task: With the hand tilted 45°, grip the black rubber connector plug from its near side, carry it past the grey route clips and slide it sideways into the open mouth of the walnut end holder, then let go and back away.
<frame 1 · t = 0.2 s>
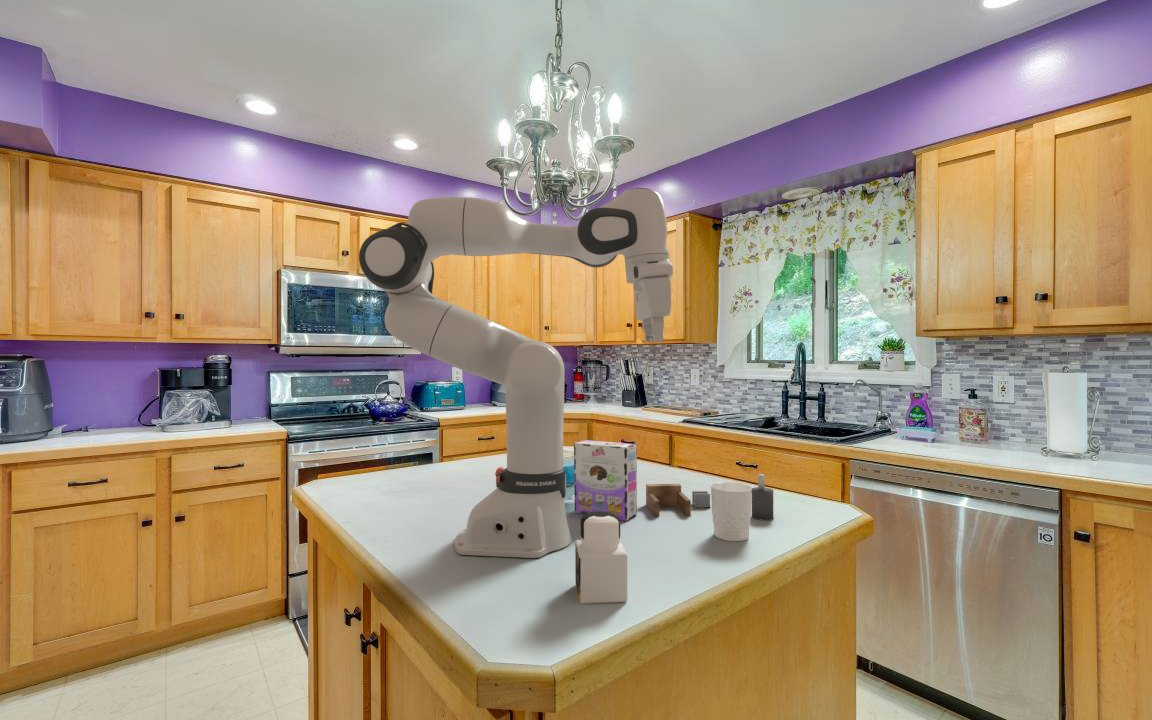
hand: (653, 341, 107), 39 cm above the worktop, tool pointing down, fingers open, 8 cm apart
white cup: (731, 537, 107), on the worktop
clip 1: (728, 507, 128), on the worktop
clip 2: (701, 505, 129), on the worktop
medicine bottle: (600, 594, 81), on the worktop
end holder: (668, 511, 125), on the worktop
plug: (762, 517, 120), on the worktop
candy box: (605, 515, 123), on the worktop
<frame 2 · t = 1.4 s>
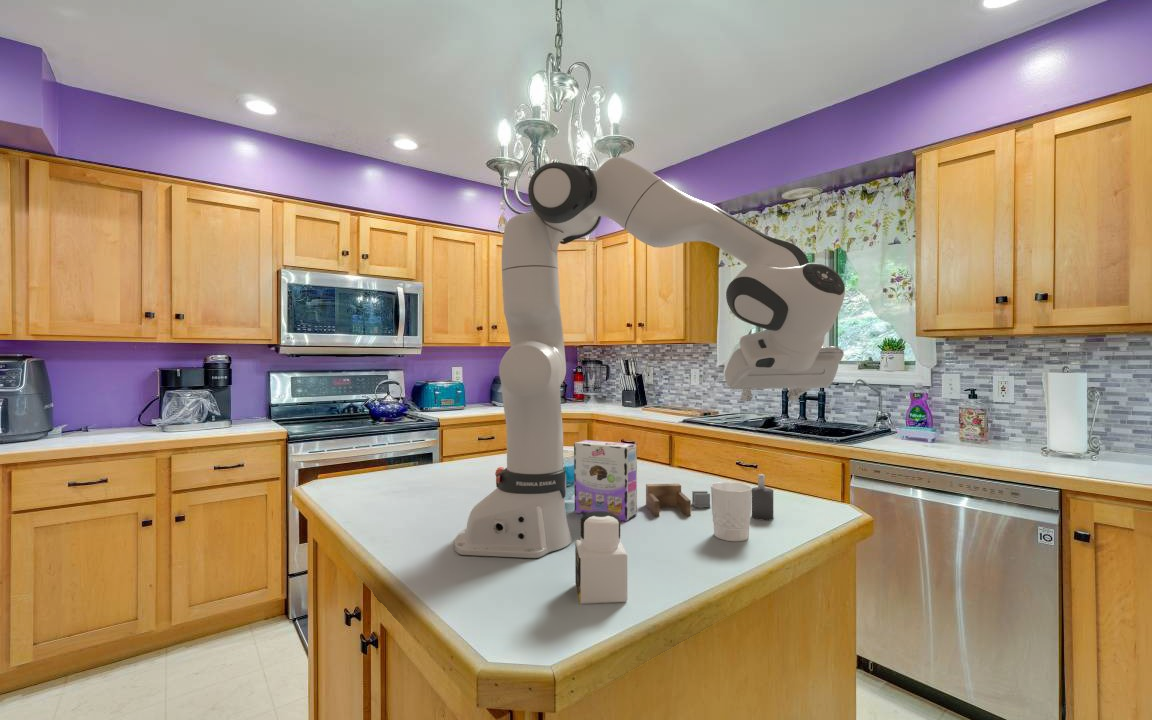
hand: (768, 398, 106), 28 cm above the worktop, tool tilted 45°, fingers open, 8 cm apart
nothing on the worktop moved.
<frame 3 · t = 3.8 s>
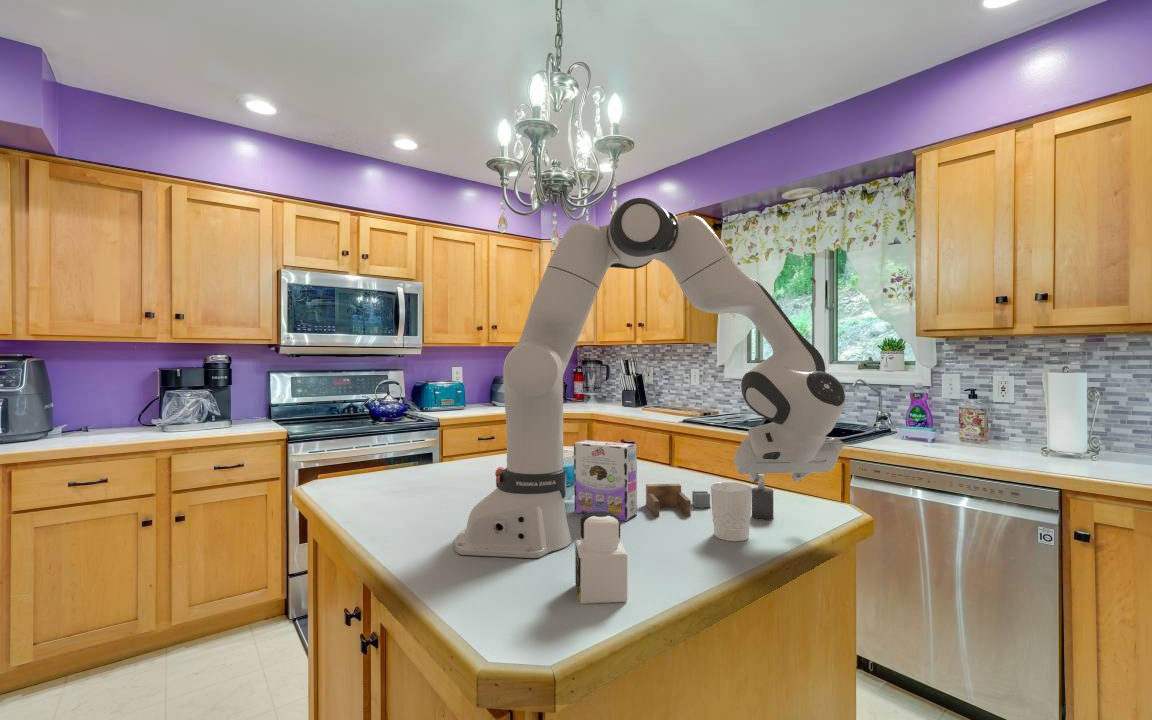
hand: (774, 478, 114), 10 cm above the worktop, tool tilted 45°, fingers open, 8 cm apart
nothing on the worktop moved.
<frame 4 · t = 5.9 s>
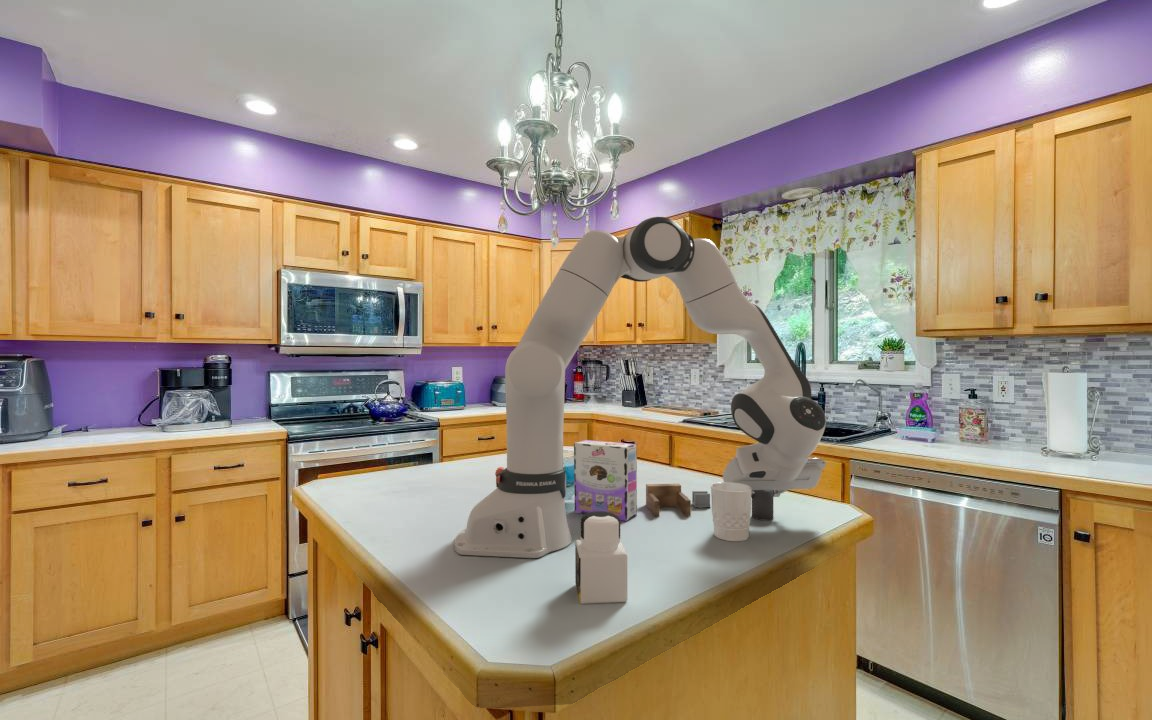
hand: (761, 494, 121), 5 cm above the worktop, tool tilted 45°, fingers closed on plug, 5 cm apart
plug: (762, 517, 120), on the worktop, touching gripper
everything else where it was.
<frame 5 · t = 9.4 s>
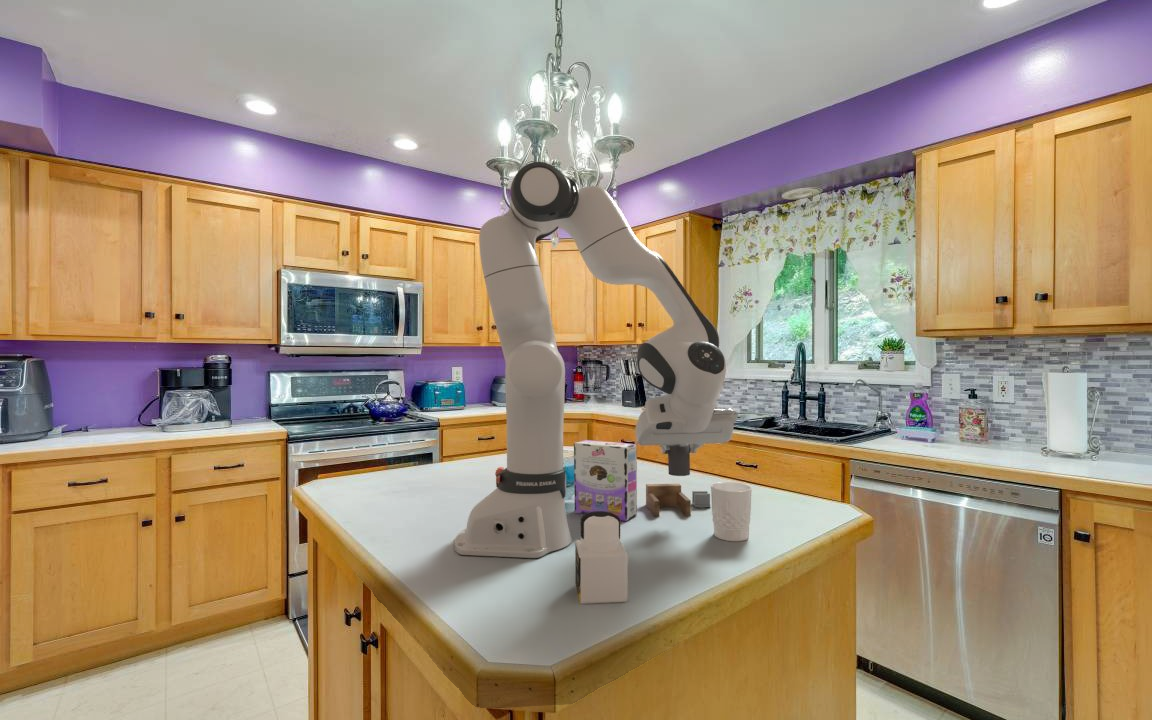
hand: (678, 451, 117), 15 cm above the worktop, tool tilted 45°, fingers closed on plug, 5 cm apart
plug: (679, 473, 117), point 11 cm above the worktop, touching gripper
everything else where it was.
when the fingers open (6 cm above the worktop, at t = 12.7 s): plug drops 1 cm, resting in end holder.
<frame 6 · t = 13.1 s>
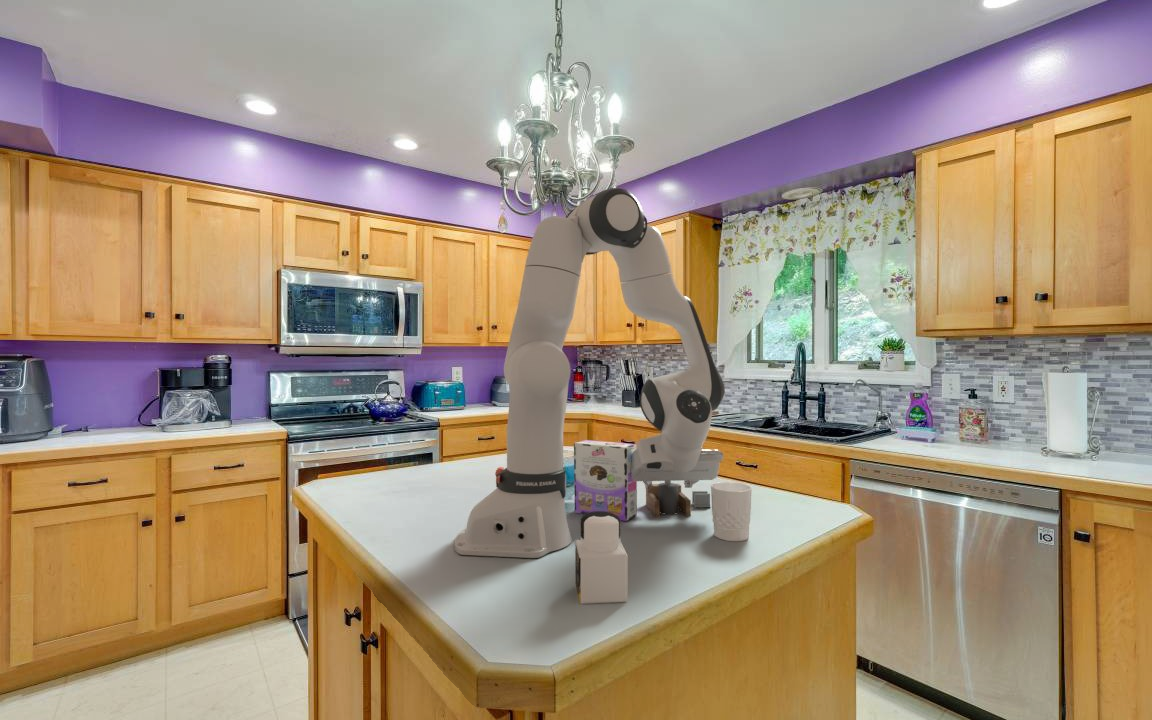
hand: (667, 485, 125), 6 cm above the worktop, tool tilted 45°, fingers open, 8 cm apart
plug: (668, 511, 125), resting in end holder
everything else where it was.
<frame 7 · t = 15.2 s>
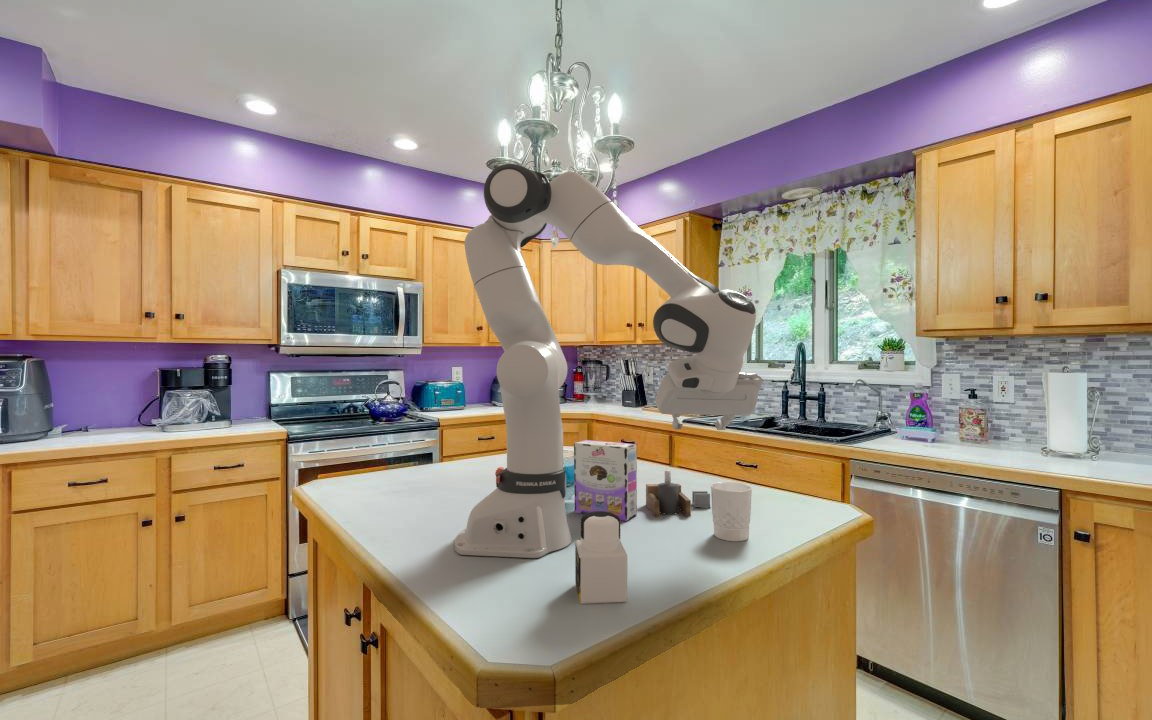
hand: (698, 428, 111), 21 cm above the worktop, tool tilted 30°, fingers open, 8 cm apart
nothing on the worktop moved.
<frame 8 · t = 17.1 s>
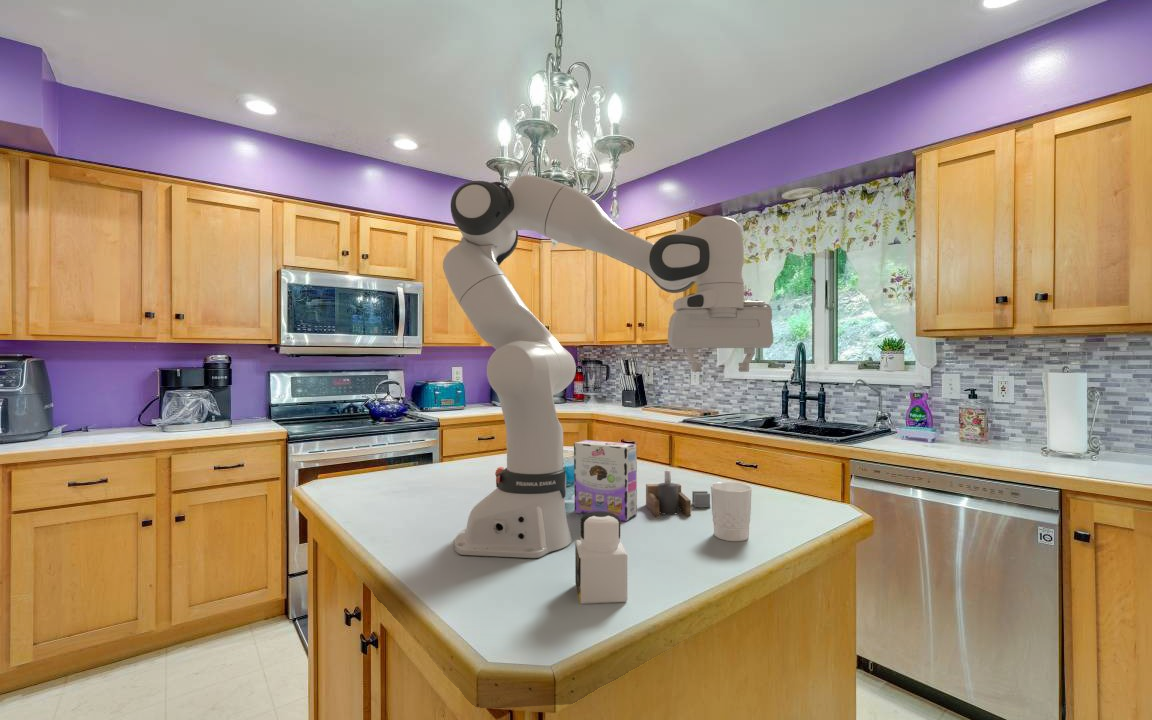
hand: (720, 371, 104), 33 cm above the worktop, tool pointing down, fingers open, 8 cm apart
nothing on the worktop moved.
at the end: plug 0.0 cm off-centre on the end holder, point 0.0 cm above the end holder's base; plug tilted 0°; the gripper is holding nothing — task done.
